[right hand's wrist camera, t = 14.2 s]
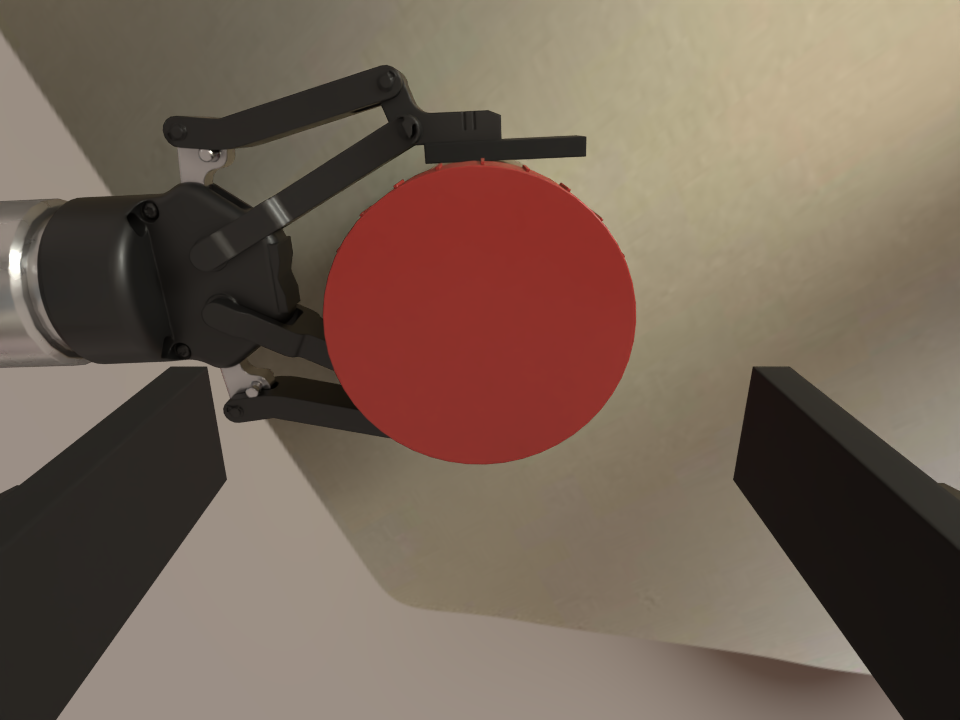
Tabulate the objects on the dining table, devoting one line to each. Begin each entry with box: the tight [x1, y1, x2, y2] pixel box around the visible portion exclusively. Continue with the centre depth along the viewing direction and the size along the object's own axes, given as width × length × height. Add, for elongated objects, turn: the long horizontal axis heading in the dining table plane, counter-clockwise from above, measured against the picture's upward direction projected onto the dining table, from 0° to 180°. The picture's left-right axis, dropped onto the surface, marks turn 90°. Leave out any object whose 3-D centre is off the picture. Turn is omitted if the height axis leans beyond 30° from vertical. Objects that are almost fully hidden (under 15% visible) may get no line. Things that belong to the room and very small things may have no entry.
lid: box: [323, 158, 636, 464], centre depth 20 cm, size 10×10×2 cm
